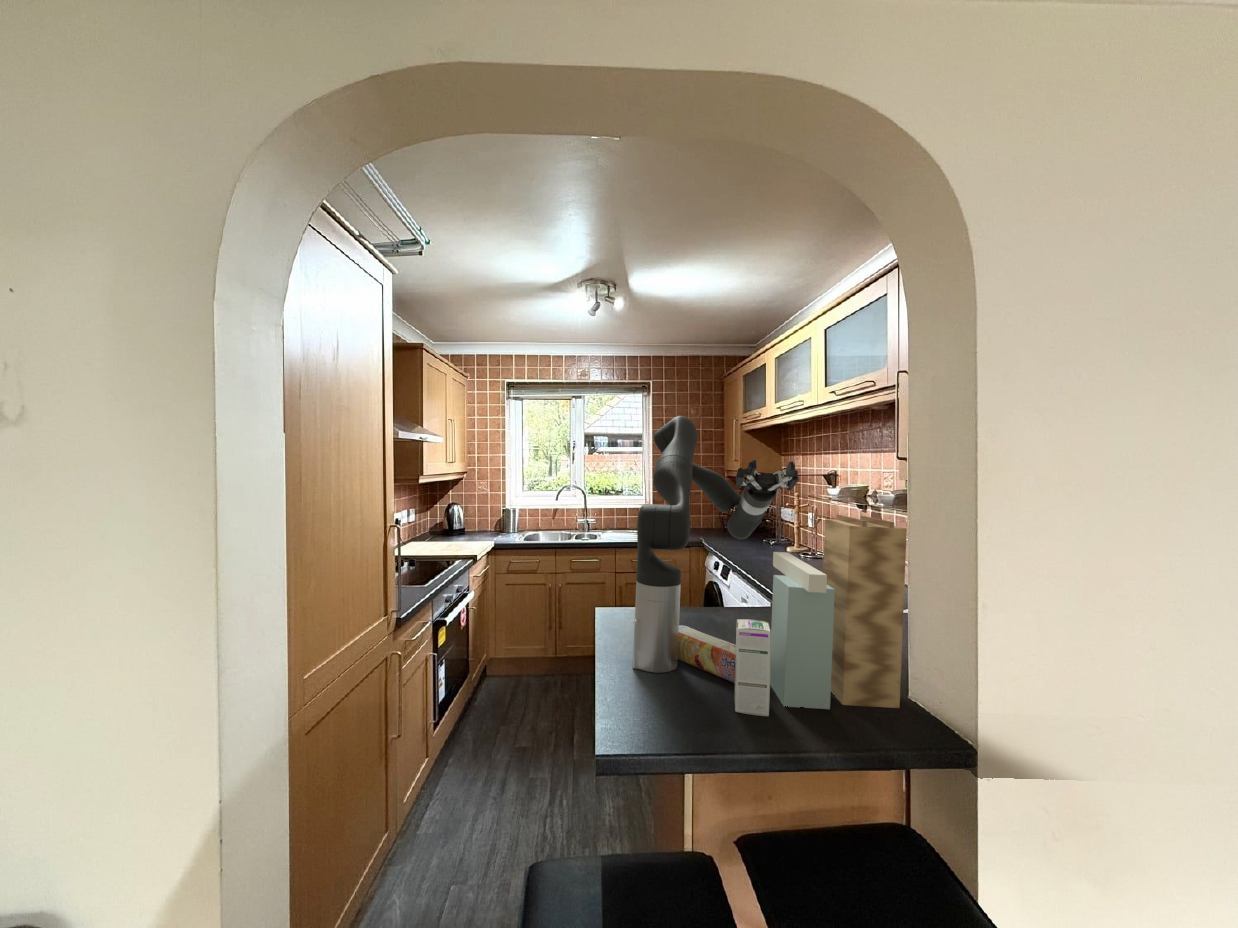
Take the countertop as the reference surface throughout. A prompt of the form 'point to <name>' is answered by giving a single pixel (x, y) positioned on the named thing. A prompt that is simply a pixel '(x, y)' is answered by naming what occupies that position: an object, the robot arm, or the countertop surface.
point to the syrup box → (752, 667)
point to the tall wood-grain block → (866, 608)
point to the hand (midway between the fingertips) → (773, 464)
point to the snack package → (707, 653)
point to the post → (801, 644)
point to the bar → (800, 572)
